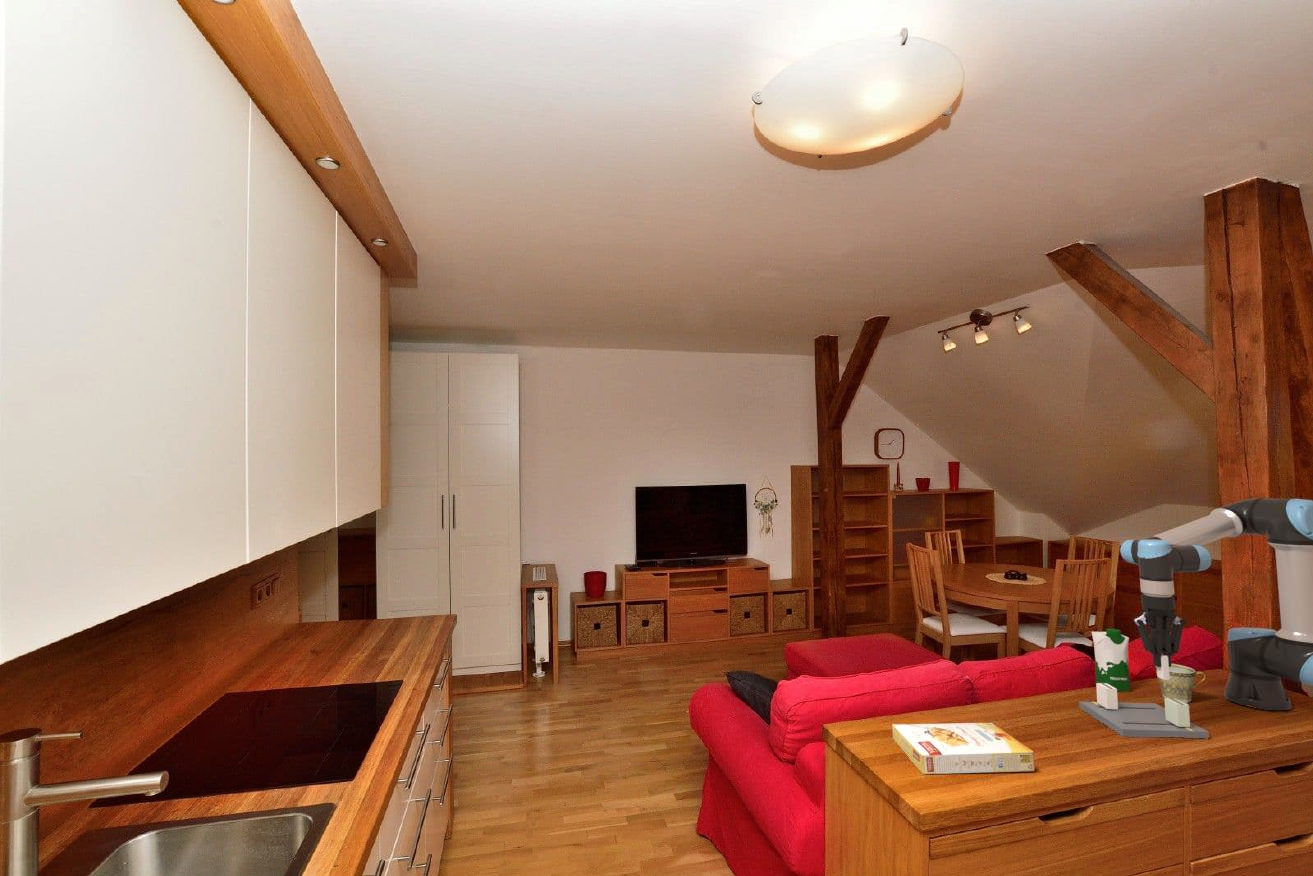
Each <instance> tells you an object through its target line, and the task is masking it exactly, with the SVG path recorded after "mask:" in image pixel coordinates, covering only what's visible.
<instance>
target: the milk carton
mask: <svg viewBox="0 0 1313 876" xmlns="http://www.w3.org/2000/svg"><path fill="white" fill-rule="evenodd" d="M1091 636H1092V640H1093V645H1094V647H1093V648H1094V665H1095V684H1096V683H1107V684H1109V685H1111V686H1112V687H1114V688H1116V689H1117V691H1131V681H1130V679H1131V678H1130V667H1129V666H1130V664H1129V642H1130V638H1129V637H1128V636H1126V635H1123V634H1122V630H1121V629H1118V628H1117V629H1116V628H1106V631H1091Z"/></svg>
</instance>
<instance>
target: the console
mask: <svg viewBox="0 0 1313 876" xmlns="http://www.w3.org/2000/svg"><path fill="white" fill-rule="evenodd" d="M1078 704H1079V706H1078V707H1079V709H1080V708H1081V710H1082V711H1083V710H1084V712H1085V713H1086V712H1087V713H1086V714H1088V715H1089V714H1090V716H1091V717H1092V718H1094V719H1096V720H1097V721H1098V720H1099V721H1098V722H1100V723H1101V724H1103V723H1104V724H1105V726H1106V725H1107V726H1108V727H1107V726H1106V727H1107V728H1109V729H1110V728H1111V730H1112V731H1113V730H1114V731H1113V732H1115V733H1116V732H1117V733H1116V734H1118V735H1119V734H1120V735H1119V736H1121V737H1125V738H1127V737H1129V738H1150V737H1185V738H1209V739H1210V734H1209V733H1210V732H1209V731H1208V730H1206V729H1204V728H1202V727H1200V726H1198V725H1196V724H1194V723H1193V722H1191V721H1190V727H1178V726H1176V725H1175V724H1173V723H1171V722H1169V721H1167V720H1166V717H1165V707H1162V706H1161V705H1159V704H1158V703H1153V702H1119V701H1118V709H1106V708H1105V707H1103V706H1102V705H1100V704H1098V703H1097V701H1081V700H1080V701H1078ZM1104 724H1103V725H1104Z"/></svg>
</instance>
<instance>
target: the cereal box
mask: <svg viewBox="0 0 1313 876" xmlns="http://www.w3.org/2000/svg"><path fill="white" fill-rule="evenodd" d="M891 729H892V730H891V731H892V740H893V739H894V740H895V742H897V744H898V745H899V746H900V747H901V749H902V750H903V751H904V752H905V754H906V755H907V756H908V757H909V758H908V757H907V756H906V755H905V754H904V755H905V756H906V757H907V758H908V759H909V760H910V761H911V762H912V763H914V764H913V765H914V766H915V767H916V768H917V769H918V770H919V771H920V773H922V775H933V774H934V775H935V774H937V775H940V774H942V775H943V774H947V775H948V774H971V773H972V774H974V773H976V774H977V773H1011V772H1012V773H1014V772H1015V773H1016V772H1017V773H1018V772H1035V770H1036V769H1035V768H1036V767H1035V757H1034V755H1035V753H1034V751H1033V750H1032V749H1031V748H1029V747H1028V746H1026V745H1024V744H1023V743H1022V742H1020V741H1019V740H1017V739H1016V738H1015V737H1013V735H1011V734H1008V732H1006V731H1004V730H1003V729H1001V728H1000V727H999V726H997V725H996V724H994V723H993V722H965V723H964V722H960V723H959V722H958V723H954V722H952V723H912V724H911V723H910V724H909V723H908V724H907V723H905V724H903V723H902V724H901V723H900V724H894V723H892V725H891ZM895 742H894V743H895ZM901 749H900V750H901ZM902 750H901V751H902ZM903 751H902V752H903ZM904 752H903V753H904Z"/></svg>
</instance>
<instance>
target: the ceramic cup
mask: <svg viewBox="0 0 1313 876" xmlns="http://www.w3.org/2000/svg"><path fill="white" fill-rule="evenodd" d="M1154 667H1155V668H1154V669H1155V672H1156V674H1157V666H1155V665H1154ZM1199 674H1201V675H1203V677H1202V679H1200V680H1198V681H1197V682H1196V683H1195V680H1196V679H1195V678H1196V676H1197V675H1199ZM1169 677H1170V680H1163V679H1161V678H1159V677H1157V680H1158V683H1159V686H1160V691H1161V694H1162V698H1163V699H1164V698H1176V699H1178V700H1180V701H1182V702H1184V703H1186V704H1189V703H1191V702H1192V696H1193V695H1192V694H1193V689H1194V688H1195V687H1197V685H1199V684H1201V683H1202V682H1204V681H1205V680H1206V674H1205V673H1204V672H1202V671H1200V670H1199V671H1198V670H1197V671H1196V670H1195V669H1194V668H1192V667H1189V666H1185V665H1181V664H1176V663H1171V667H1169ZM1190 701H1191V702H1190ZM1188 702H1189V703H1188Z"/></svg>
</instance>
